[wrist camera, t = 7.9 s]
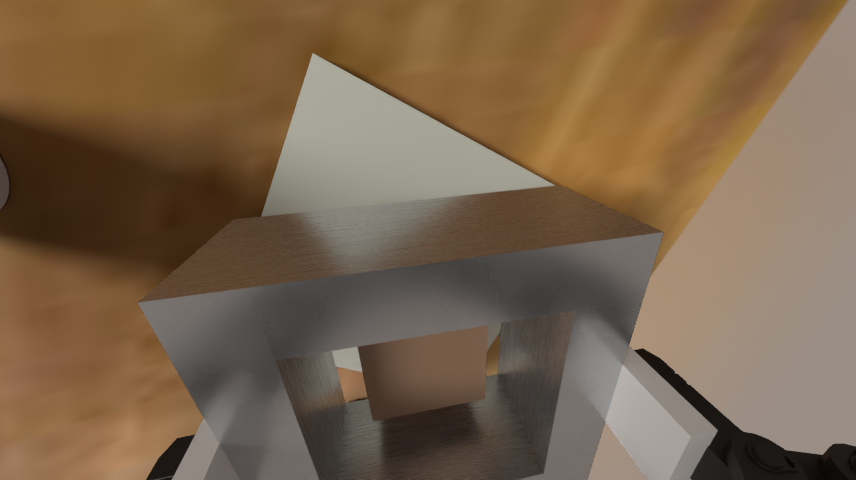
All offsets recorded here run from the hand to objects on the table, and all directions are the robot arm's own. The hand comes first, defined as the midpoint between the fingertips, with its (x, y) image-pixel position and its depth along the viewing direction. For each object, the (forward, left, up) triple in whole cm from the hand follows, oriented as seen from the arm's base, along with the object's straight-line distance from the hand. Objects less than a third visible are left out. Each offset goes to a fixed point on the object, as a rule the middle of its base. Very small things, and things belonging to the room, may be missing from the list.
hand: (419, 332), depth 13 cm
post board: (0, 0, -6) cm, 6 cm away
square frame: (0, 0, 0) cm, 0 cm away
